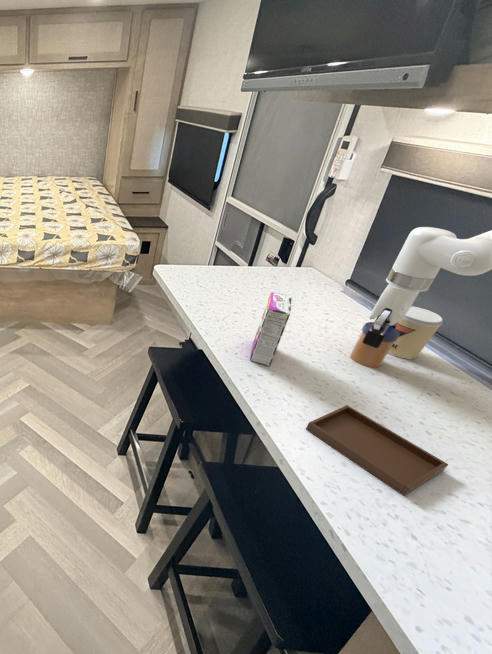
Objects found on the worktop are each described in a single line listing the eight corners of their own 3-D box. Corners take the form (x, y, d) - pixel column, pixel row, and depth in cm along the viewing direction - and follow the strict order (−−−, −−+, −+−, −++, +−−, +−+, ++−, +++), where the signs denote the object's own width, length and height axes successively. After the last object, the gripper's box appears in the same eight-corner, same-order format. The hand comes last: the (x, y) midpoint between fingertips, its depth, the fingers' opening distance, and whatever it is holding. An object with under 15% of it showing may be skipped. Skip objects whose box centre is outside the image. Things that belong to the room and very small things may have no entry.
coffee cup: (367, 339, 115) (386, 303, 109) (404, 342, 113) (425, 306, 108) (390, 359, 107) (412, 321, 101) (430, 362, 105) (454, 324, 100)
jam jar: (386, 363, 105) (403, 333, 100) (371, 369, 103) (389, 339, 98) (358, 350, 110) (374, 321, 106) (344, 356, 108) (359, 326, 103)
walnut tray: (443, 471, 76) (448, 464, 75) (404, 496, 71) (409, 489, 70) (343, 411, 90) (347, 404, 89) (305, 429, 85) (308, 422, 84)
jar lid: (359, 334, 103) (362, 328, 102) (364, 324, 107) (366, 319, 106) (395, 345, 98) (398, 339, 97) (398, 334, 102) (401, 329, 101)
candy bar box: (252, 341, 115) (270, 291, 107) (272, 346, 112) (292, 295, 104) (248, 360, 107) (267, 308, 99) (270, 367, 104) (291, 313, 96)
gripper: (401, 265, 102) (370, 324, 110) (375, 282, 94) (344, 344, 102) (442, 276, 96) (406, 337, 105) (418, 294, 88) (381, 359, 97)
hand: (376, 340), depth 103 cm, fingers closed on jar lid, 6 cm apart
